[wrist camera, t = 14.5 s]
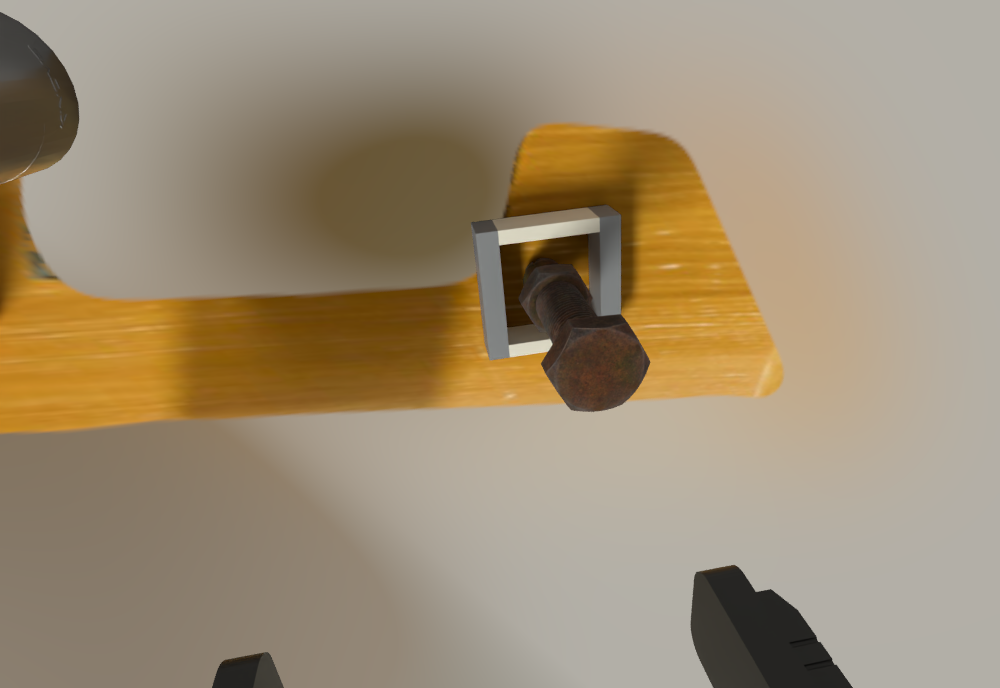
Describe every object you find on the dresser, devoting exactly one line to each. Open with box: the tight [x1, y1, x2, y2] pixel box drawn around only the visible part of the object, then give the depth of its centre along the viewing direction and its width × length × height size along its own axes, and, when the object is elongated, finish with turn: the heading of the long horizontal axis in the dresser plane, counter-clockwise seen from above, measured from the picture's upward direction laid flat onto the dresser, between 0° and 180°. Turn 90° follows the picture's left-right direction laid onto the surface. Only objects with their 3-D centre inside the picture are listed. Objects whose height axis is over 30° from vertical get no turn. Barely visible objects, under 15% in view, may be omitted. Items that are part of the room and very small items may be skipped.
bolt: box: [519, 258, 650, 412], centre depth 38 cm, size 6×5×15 cm
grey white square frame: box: [471, 205, 621, 360], centre depth 44 cm, size 10×10×3 cm
